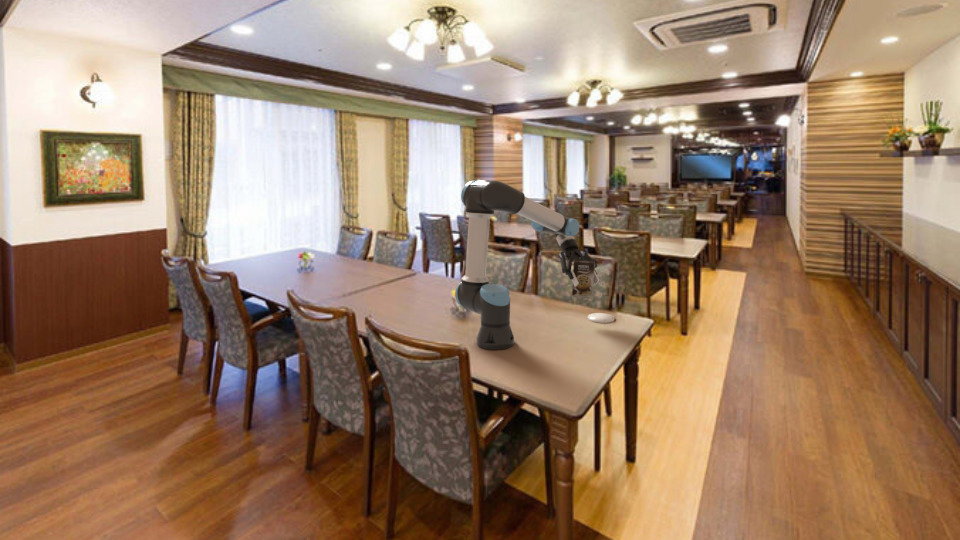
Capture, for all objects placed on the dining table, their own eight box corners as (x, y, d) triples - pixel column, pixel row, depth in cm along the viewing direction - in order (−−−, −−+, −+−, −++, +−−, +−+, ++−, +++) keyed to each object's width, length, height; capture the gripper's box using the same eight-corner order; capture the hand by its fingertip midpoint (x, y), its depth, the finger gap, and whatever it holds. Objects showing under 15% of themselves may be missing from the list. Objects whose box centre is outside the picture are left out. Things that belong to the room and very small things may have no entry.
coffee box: (571, 297, 216) (573, 262, 213) (573, 294, 222) (574, 259, 219) (592, 299, 214) (594, 263, 210) (593, 295, 220) (595, 260, 216)
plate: (599, 324, 218) (599, 322, 218) (582, 317, 228) (582, 315, 228) (620, 320, 223) (620, 318, 223) (602, 313, 233) (602, 311, 233)
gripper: (583, 245, 232) (603, 285, 222) (542, 249, 223) (561, 291, 212) (591, 236, 226) (612, 276, 216) (549, 239, 217) (569, 281, 206)
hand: (587, 283), depth 214 cm, fingers closed on coffee box, 10 cm apart
